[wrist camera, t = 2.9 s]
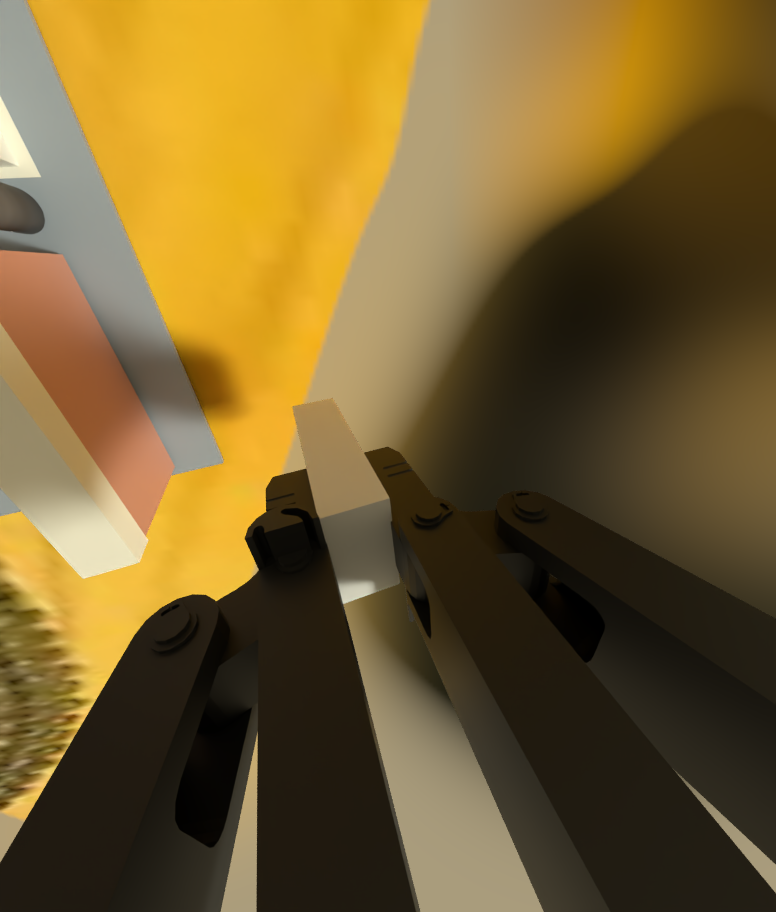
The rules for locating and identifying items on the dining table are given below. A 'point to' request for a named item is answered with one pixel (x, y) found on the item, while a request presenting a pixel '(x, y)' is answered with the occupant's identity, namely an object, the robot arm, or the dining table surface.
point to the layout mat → (90, 238)
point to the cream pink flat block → (72, 421)
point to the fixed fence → (17, 202)
